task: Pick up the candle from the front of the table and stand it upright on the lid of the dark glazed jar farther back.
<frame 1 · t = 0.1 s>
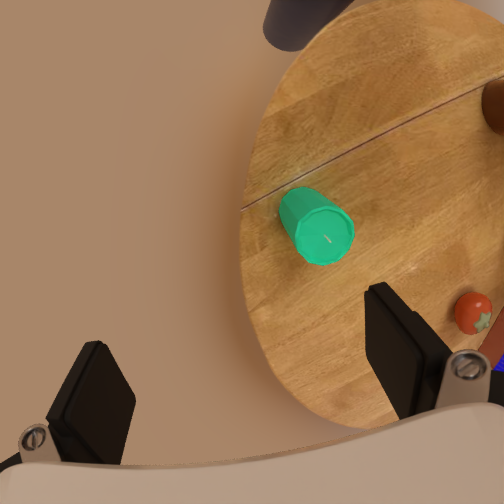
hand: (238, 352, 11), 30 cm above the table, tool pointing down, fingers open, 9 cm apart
tomato: (462, 303, 48), on the table
candle: (301, 210, 40), on the table
jar: (499, 107, 35), on the table
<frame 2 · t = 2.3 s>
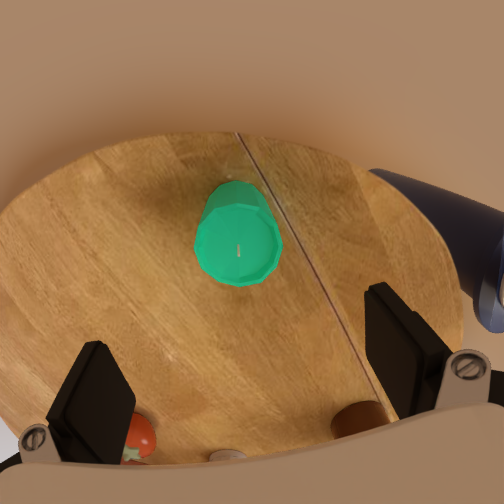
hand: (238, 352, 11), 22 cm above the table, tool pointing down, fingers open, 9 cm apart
cup: (228, 458, 46), on the table
tomato: (136, 419, 42), on the table
candle: (236, 210, 32), on the table
jar: (357, 419, 44), on the table
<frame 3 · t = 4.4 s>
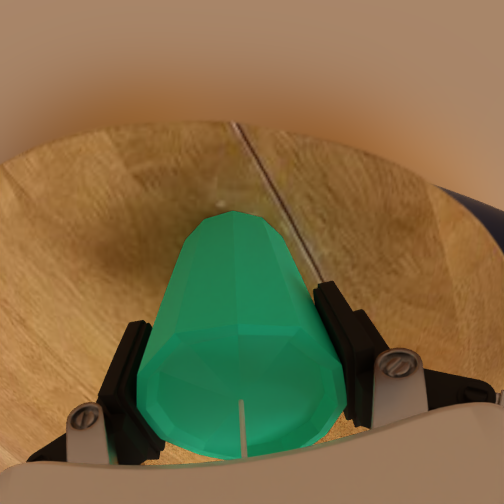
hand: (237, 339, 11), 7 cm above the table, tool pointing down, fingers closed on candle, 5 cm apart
candle: (234, 262, 18), on the table, touching gripper
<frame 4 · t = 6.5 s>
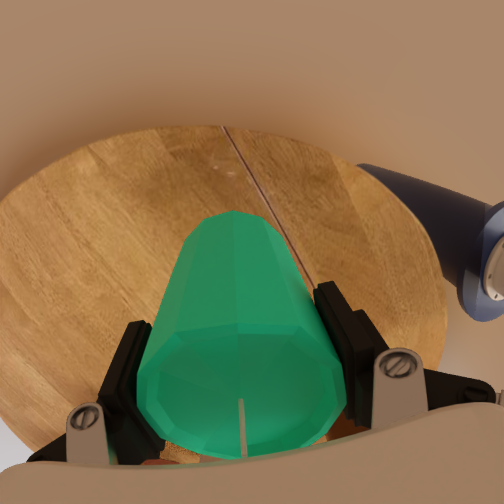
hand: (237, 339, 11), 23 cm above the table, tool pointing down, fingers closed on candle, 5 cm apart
candle: (234, 262, 18), point 16 cm above the table, touching gripper
jar: (345, 406, 46), on the table
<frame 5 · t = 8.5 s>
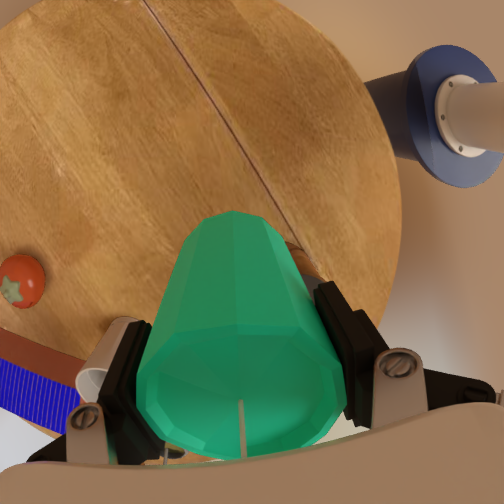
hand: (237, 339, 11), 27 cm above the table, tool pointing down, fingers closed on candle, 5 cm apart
house: (44, 368, 44), on the table
mate gourd: (174, 415, 49), on the table
cup: (129, 334, 43), on the table
tomato: (34, 270, 38), on the table
candle: (234, 262, 18), point 20 cm above the table, touching gripper
jar: (277, 275, 41), on the table
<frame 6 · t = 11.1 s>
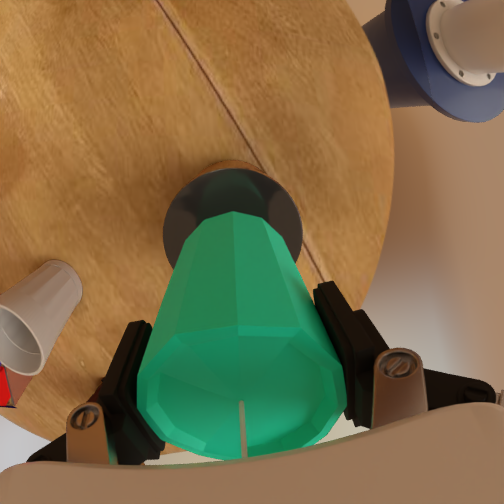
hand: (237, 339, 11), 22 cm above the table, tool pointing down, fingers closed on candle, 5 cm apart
cup: (60, 283, 33), on the table
candle: (234, 263, 18), point 14 cm above the table, touching gripper
jar: (231, 205, 31), on the table
when the fingers open (17 cm above the table, at t = 12.9 s): candle stays where it is, resting on jar.
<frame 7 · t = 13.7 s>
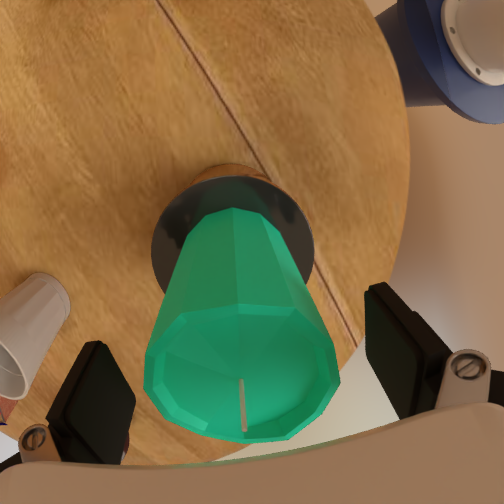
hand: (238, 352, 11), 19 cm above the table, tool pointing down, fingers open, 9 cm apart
cup: (47, 298, 30), on the table
candle: (234, 257, 19), point 10 cm above the table, touching jar
jar: (231, 214, 28), on the table, touching candle
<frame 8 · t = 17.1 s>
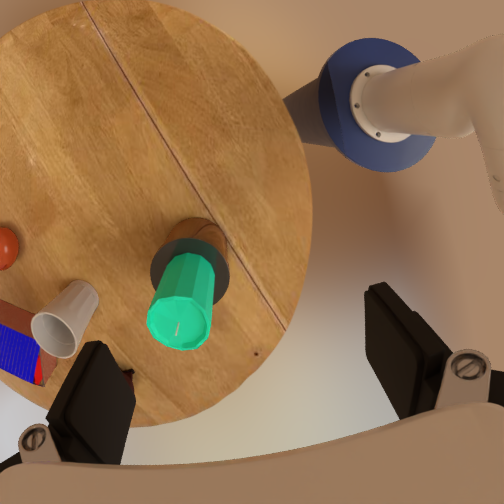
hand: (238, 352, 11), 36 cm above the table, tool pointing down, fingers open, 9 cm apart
house: (17, 328, 51), on the table
cup: (82, 296, 49), on the table
tomato: (11, 240, 45), on the table
candle: (190, 275, 38), point 10 cm above the table, touching jar
jar: (196, 247, 47), on the table, touching candle
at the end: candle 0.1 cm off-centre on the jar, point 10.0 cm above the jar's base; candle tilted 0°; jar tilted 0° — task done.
